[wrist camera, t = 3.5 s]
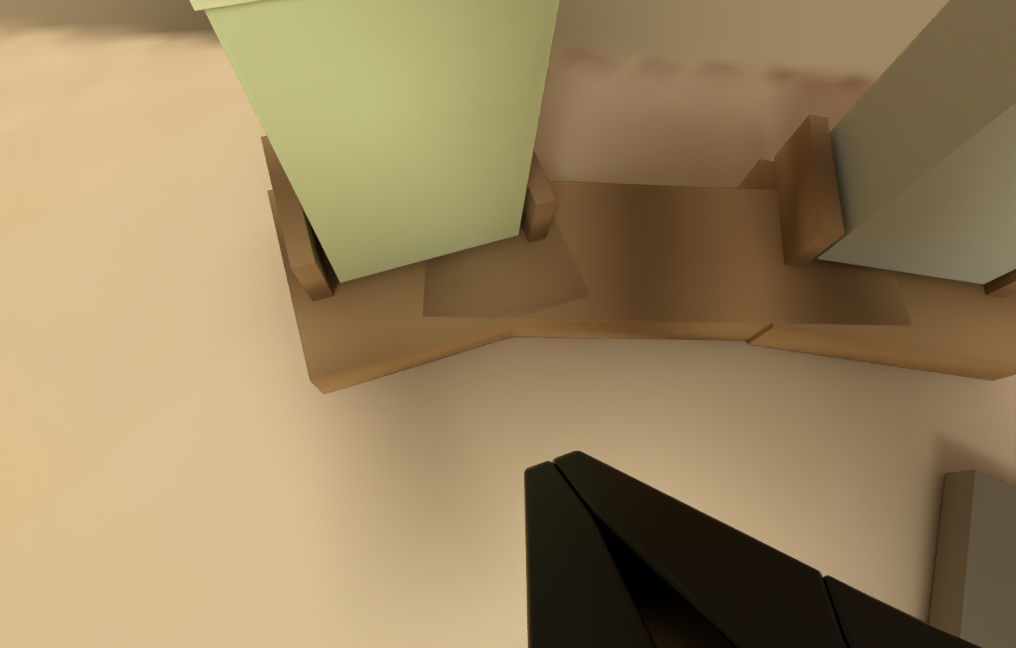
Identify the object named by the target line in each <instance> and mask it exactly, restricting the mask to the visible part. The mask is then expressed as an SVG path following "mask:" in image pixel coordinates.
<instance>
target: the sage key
mask: <svg viewBox="0 0 1016 648" xmlns="http://www.w3.org/2000/svg"><path fill="white" fill-rule="evenodd" d="M559 1H560V0H190V2H191V4H192V6H193V8H194V10H195V11H196V10H202V9H204V10H205V12H206V14H207V16H208V18H209V20H210V22H211V25H212V27H213V29H214V31H215V33H216V35H217V37H218V39H219V41H220V43H221V45H222V47H223V49H224V51H225V53H226V55H227V57H228V59H229V61H230V63H231V65H232V67H233V69H234V71H235V73H236V75H237V77H238V79H239V81H240V83H241V85H242V87H243V89H244V91H245V93H246V95H247V97H248V99H249V101H250V103H251V105H252V107H253V109H254V111H255V113H256V115H257V117H258V119H259V121H260V123H261V125H262V127H263V129H264V131H265V133H266V135H267V137H268V139H269V141H270V143H271V145H272V147H273V149H274V151H275V153H276V155H277V157H278V159H279V161H280V163H281V165H282V167H283V169H284V171H285V173H286V175H287V177H288V179H289V181H290V183H291V185H292V187H293V189H294V191H295V193H296V195H297V197H298V199H299V201H300V203H301V205H302V207H303V209H304V211H305V213H306V215H307V217H308V219H309V221H310V223H311V225H312V227H313V229H314V231H315V233H316V235H317V237H318V239H319V241H320V243H321V245H322V247H323V249H324V251H325V253H326V255H327V257H328V259H329V261H330V263H331V265H332V267H333V269H334V271H335V273H336V275H337V277H338V279H339V281H340V283H341V282H345V281H349V280H353V279H356V278H360V277H364V276H367V275H371V274H375V273H379V272H382V271H386V270H390V269H394V268H397V267H401V266H405V265H409V264H412V263H416V262H420V261H424V260H427V259H431V258H435V257H438V256H442V255H446V254H450V253H453V252H457V251H461V250H465V249H468V248H472V247H476V246H480V245H483V244H487V243H491V242H495V241H498V240H502V239H506V238H509V237H513V236H517V235H518V234H519V229H520V223H521V217H522V212H523V206H524V200H525V195H526V189H527V183H528V178H529V172H530V166H531V160H532V155H533V149H534V143H535V138H536V132H537V126H538V121H539V115H540V109H541V104H542V98H543V92H544V87H545V81H546V75H547V70H548V64H549V58H550V53H551V47H552V41H553V36H554V30H555V24H556V18H557V13H558V7H559Z"/></svg>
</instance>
